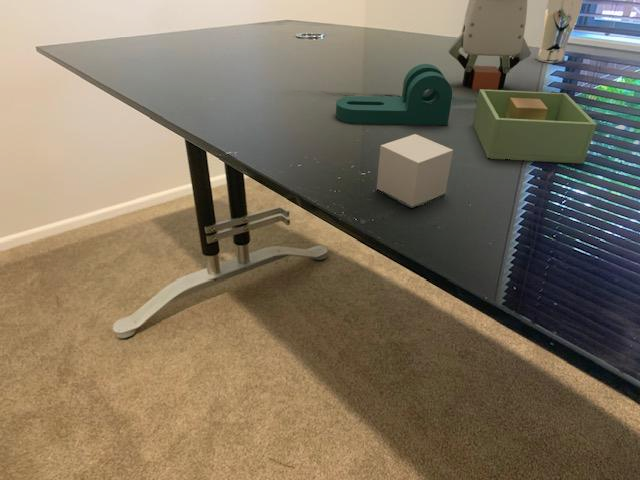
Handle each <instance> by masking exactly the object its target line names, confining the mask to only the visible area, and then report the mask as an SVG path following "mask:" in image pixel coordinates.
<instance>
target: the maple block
mask: <svg viewBox="0 0 640 480" xmlns="http://www.w3.org/2000/svg"><path fill="white" fill-rule="evenodd" d="M547 111H548V108H547V107H546V106H545V105H544V103H543V102H542V101H541V100H540V99H531V98H510V100H509V105H508V109H507V113H506V117H505V118H508V119H528V120H545V118H546V115H547Z"/></svg>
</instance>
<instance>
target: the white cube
mask: <svg viewBox="0 0 640 480" xmlns="http://www.w3.org/2000/svg"><path fill="white" fill-rule="evenodd" d="M453 153H454V149H452V148H450V147H447V146H445V145H442V144H441V143H438V142H435V141H433V140H431V139H429V138H426V137H423V136H421V135H418V134H417V133H413V134H410V135H408V136H405V137H402V138H399V139H396V140H393V141H390V142H387V143H384V144H381V145H380V149H379V158H378V169H377V179H376V190H377V189H379V190H381V191H384V192H386V193H388V194H390V195H392V196H394V197H396V198H398V199H399V200H402V201H404V202H406V203H407V204H409V205H411V206H414V205H417V204H419V203H422V202H425V201H427V200H430V199H433V198H435V197H437V196H439V195H441V194H443V193H445V194H446V193H447V187H448V181H449V175H450V170H451V166H452V165H451V164H452V160H453Z"/></svg>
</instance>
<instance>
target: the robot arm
mask: <svg viewBox="0 0 640 480" xmlns="http://www.w3.org/2000/svg"><path fill="white" fill-rule="evenodd" d="M467 3H468V4H467V7H466V11H465V14H464V18H463V23H462V28H461V33H460V35H459V36H458V38H456V39H455V41H454V42H452V44H451V45H450V47H448V54H449V55H451V56H452V57H453V59H455V60H456V61H457V62H458V63H459V65H461V67H462V68H463V69H464V72H463V76H462V77H463V79H462V87H464V88H467V89H472V83H473V77H474V72H473V66H474V65H475V63H476V61H477V59H478V56H485V57H486V56H487V57H488V56H489V57H499V66H498V67H497V68H498V70H499V71H500V72H501V75H500V80H499V85H498V90H502V89H504V88H505V83H506V77H507V74H508V73H510V71H511V70H512V69H513V68H514V67H516V66H517V65H518V64H519V63H520V62H522V61H524V60H526V59H528V58H529V57H530V56H531V55H532V51H531V50H530V47H529V46H528V43H527V41H526V39H525V31H526V25H527V12H528V0H468V2H467ZM461 48H462V51H463V52H464V54H467V55H466V57H465V55H464V54H463V53H461V51H460V49H461Z"/></svg>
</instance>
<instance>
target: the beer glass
mask: <svg viewBox="0 0 640 480" xmlns="http://www.w3.org/2000/svg"><path fill="white" fill-rule="evenodd" d="M583 1H584V0H547V4H546V9H545V12H544V18H543V30H542V31H543V32H542V40H541V44H540V47H539V49H538V51H537V54H536V57H535V59H536V60H537V61H539V62H542V63H546V64H562V63H564V62H565V57H566V48H567V44H568V42H569V39H570V37H571V35H572V33H573V31H574V29H575V26H576V24H577V21H578V19H579V17H580V13H581V10H582V5H583Z"/></svg>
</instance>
